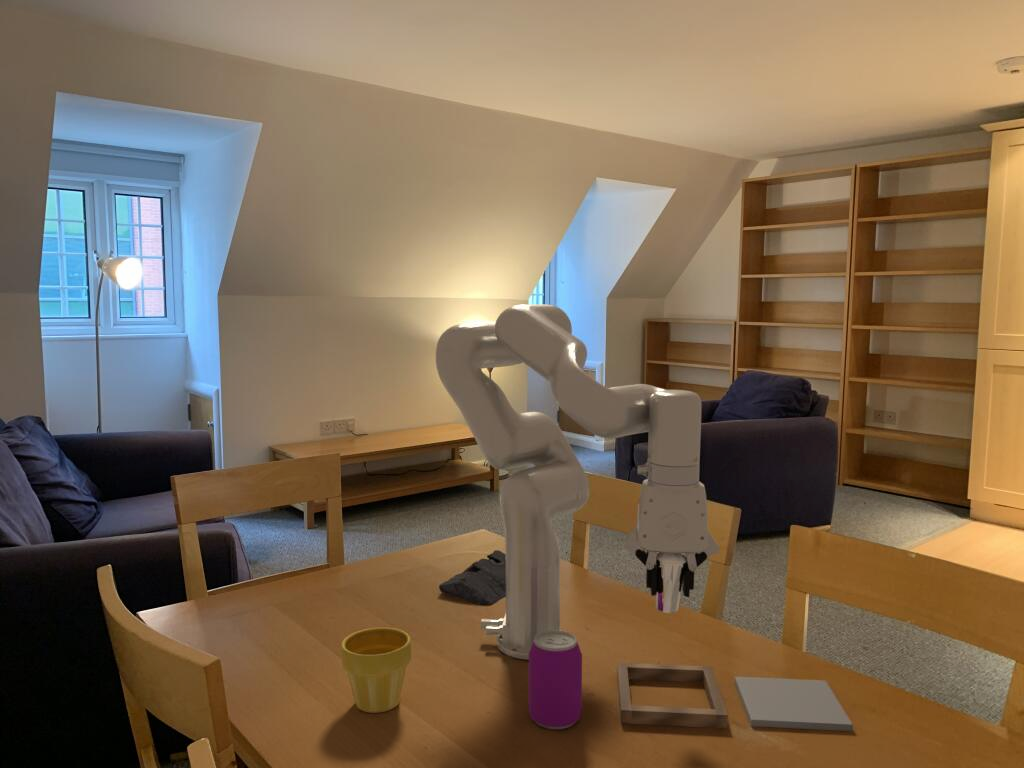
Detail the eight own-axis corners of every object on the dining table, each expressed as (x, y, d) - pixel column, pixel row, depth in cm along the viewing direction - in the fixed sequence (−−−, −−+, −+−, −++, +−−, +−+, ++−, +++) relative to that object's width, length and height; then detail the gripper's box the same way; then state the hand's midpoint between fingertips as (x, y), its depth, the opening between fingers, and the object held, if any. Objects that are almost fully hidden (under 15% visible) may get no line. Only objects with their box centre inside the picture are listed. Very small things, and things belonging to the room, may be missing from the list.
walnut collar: (620, 723, 114) (621, 709, 114) (617, 674, 129) (617, 662, 129) (727, 728, 113) (727, 715, 112) (711, 678, 127) (711, 666, 127)
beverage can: (527, 731, 112) (528, 650, 110) (529, 704, 119) (529, 627, 118) (582, 733, 111) (583, 651, 110) (580, 705, 119) (581, 628, 118)
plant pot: (348, 686, 125) (346, 626, 124) (414, 684, 125) (413, 625, 124) (337, 721, 115) (335, 656, 113) (409, 719, 115) (408, 654, 114)
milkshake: (687, 617, 117) (693, 552, 115) (650, 612, 118) (656, 547, 116) (687, 606, 121) (693, 543, 120) (651, 601, 122) (657, 538, 121)
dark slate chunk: (426, 596, 164) (426, 574, 163) (480, 565, 183) (480, 545, 182) (490, 610, 156) (490, 587, 156) (540, 576, 176) (540, 555, 175)
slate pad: (750, 726, 113) (751, 719, 113) (734, 682, 126) (734, 676, 126) (852, 731, 112) (852, 724, 112) (825, 686, 125) (825, 680, 125)
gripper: (616, 478, 114) (614, 600, 116) (735, 481, 112) (730, 605, 115) (615, 466, 121) (612, 581, 124) (726, 469, 120) (722, 586, 122)
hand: (669, 591), depth 119 cm, fingers closed on milkshake, 4 cm apart
